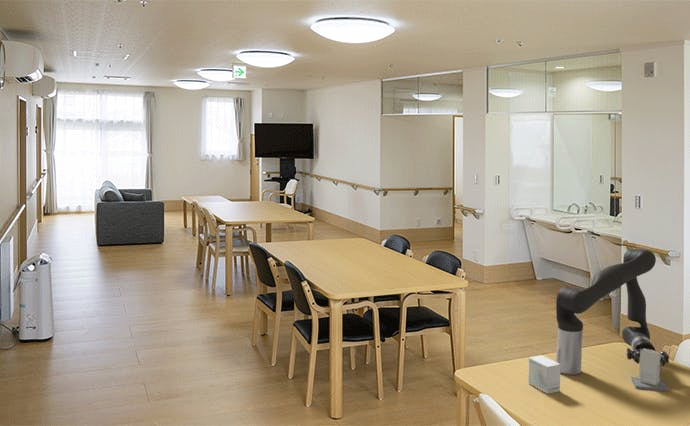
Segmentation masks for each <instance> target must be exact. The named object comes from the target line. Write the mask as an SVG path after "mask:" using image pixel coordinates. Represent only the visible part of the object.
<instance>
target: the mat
mask: <svg viewBox="0 0 690 426" xmlns="http://www.w3.org/2000/svg"><path fill="white" fill-rule="evenodd" d="M639 377H640V376H638V377H636V376H631V382H632V384H633V386H634V388H635V389H638V390H648V391H658V392H659V391H660V392H669V388H668V386H667V383H666V382H665V380H664V379H660V378H659V383H658V384H657V385H656V386H655V385H651V384H647V383H643V382H640V381H639Z"/></svg>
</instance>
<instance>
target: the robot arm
mask: <svg viewBox="0 0 690 426" xmlns="http://www.w3.org/2000/svg"><path fill="white" fill-rule="evenodd" d="M656 262H657V261H656V255H655V254H654V253H653V252H652V250H651V251H650V250H648V249H643V248H642V249H641V248H639V249H637V248H629V249H627V250H626V251H625V253H624V255H623V261H622V262H621V263H617V264H616V263H615V264H613V265H609V266H606V267H604V268H603V269H601V270H600V271H598V272H597V273H595V274H594V276H593V278H592V280H591V284H590V286H588V287H586V288H585V289H578V288H574V287H570V286H563V287H561V288H560V289H559V290H558V292H557V294H556V301H555V303H556V304H555V306H556V307H555V312H556V318H555V319H556V322H557V340H556V342H557V344H556V356H555V362H557V363H559V364H561V370H560V374H562V375H563V374H564V375H573V376H576V375H580V374H581V372H582V355H583V338H584V337H583V336H584V324H583V322H582V320H580V319H579V317H577V315H576V314H582V313H585V312H586V311H588V309H590V308H591V307H592V306H593V305H595V304H596V303H597V302H598V301H600V300H601V299H603V298H605V297H606V296H607V295H609V294H610V293H612V292H614V291H616V290H617V289H619V288H620V287H622V286H623V285H626V292H627V319H628V320H629V321H631V322H635V323H638V324H639V325H640V326H629V325H628V326H625V327H624V328H623V329H622V331H621V336H622V337H621V338H622V339H623V341H624V343H626V345H628V346H630V347H631V348H632V349H631V348H629V347H628V348H626V357H627V359H628V360H629V361H630V360H633V361H634V363H636V364H640V351H641V350H643V349H649V350H654V351H657V350H656V348H655V346H654V344H653V343H652V341H651V334H650V331H649V327H648V324H647V315H646V314H647V301H646V297H645V294H644V292H643V290H642V289H641V287H640V285H639V281H638V277H640V276H641V275H644V274H646V273H649V272H650V271H652V269H653V268H654V267H655V264H656ZM669 361H670V355H669V354H668V353H667V352H666V351H664V350H663V351H661V352H660V366H663V367H664V366H665V365H666V364H668V363H669Z"/></svg>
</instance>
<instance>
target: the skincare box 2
mask: <svg viewBox="0 0 690 426" xmlns="http://www.w3.org/2000/svg"><path fill="white" fill-rule="evenodd" d="M660 353H661V351H658V350H656V351H654V350H649V349H643V350H641V351H640V360H639V376H638V377H639V381H640V382H643V383H647V384H651V385H655V386H656V385H657V384H658V383H659V379H660V371H661V370H660V367H661V363H660Z"/></svg>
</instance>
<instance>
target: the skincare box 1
mask: <svg viewBox="0 0 690 426" xmlns="http://www.w3.org/2000/svg"><path fill="white" fill-rule="evenodd" d="M560 370H561V364H559V363H557V362H556V360H553V359H551V358H549V357H546V356H545V355H542V354H540V355H536V356H531V357H529V358H528V383H529V384H528V385H530V384H531V385H530V386H532V385H533V386H535V387H536V388H535V387H534V388H535V389H537V388H538V389H537V390H539V389H540V390H541V392H542V391H543V393H544V392H545V393H544V394H546V393H547V394H546V395H549V393H550V394H554V393H559V392H561V373H560ZM533 386H532V387H533ZM540 390H539V391H540Z"/></svg>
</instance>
